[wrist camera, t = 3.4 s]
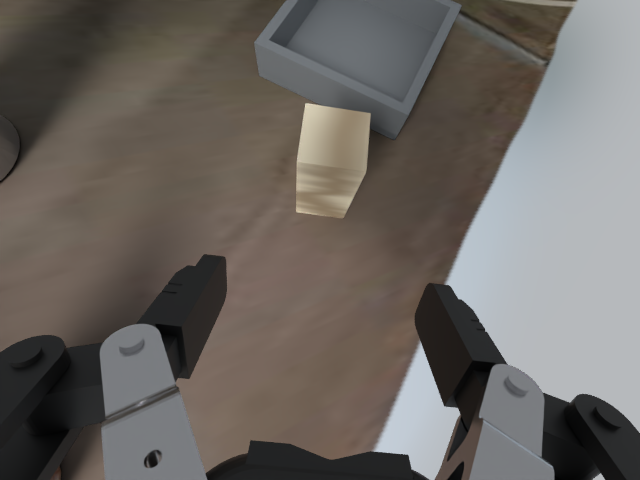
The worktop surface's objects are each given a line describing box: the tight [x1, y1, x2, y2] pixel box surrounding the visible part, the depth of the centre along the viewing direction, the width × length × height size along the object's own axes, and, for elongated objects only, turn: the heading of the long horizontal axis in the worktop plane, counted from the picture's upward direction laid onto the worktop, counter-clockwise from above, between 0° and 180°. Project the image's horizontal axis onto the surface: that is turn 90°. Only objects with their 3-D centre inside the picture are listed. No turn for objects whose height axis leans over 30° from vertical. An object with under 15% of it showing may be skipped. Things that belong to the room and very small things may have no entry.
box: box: [254, 0, 462, 140], centre depth 30 cm, size 16×16×4 cm
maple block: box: [296, 103, 371, 218], centre depth 23 cm, size 4×4×9 cm
